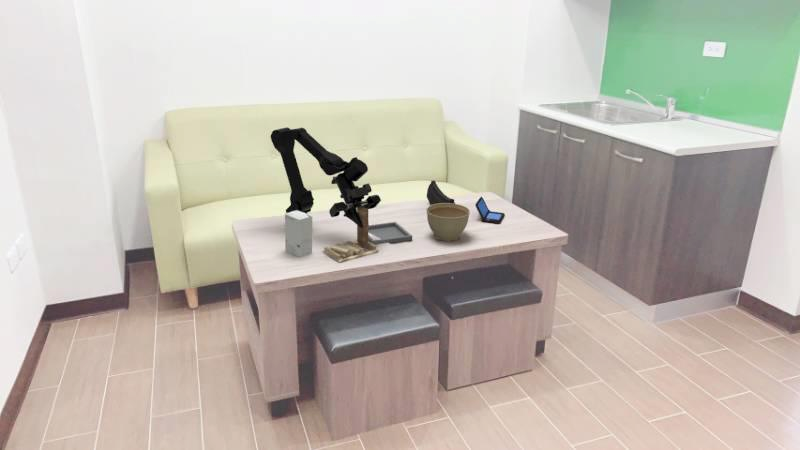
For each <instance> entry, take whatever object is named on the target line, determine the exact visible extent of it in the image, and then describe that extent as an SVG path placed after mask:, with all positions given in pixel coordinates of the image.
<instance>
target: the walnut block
mask: <svg viewBox="0 0 800 450" xmlns="http://www.w3.org/2000/svg"><path fill="white" fill-rule="evenodd" d="M357 213H358V216H359V218H360V220H361V222H362V225H363V227H362V228H360V227H359V226H358V225H357V224H356V226H357V227H356V232H357V233H356V235H357V237H356V242H359V243H360V244H362V245H367V244H368V235H369V232H368V223H369V209H367V208H365V207H363V206H361V207H357ZM360 244H359V245H360ZM362 245H361V246H362Z"/></svg>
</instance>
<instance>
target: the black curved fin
mask: <svg viewBox="0 0 800 450" xmlns="http://www.w3.org/2000/svg"><path fill="white" fill-rule="evenodd" d="M436 182H437V181H436V180H431V181H430V184H429V185H428V188H427V192H426V199H427V201H428V202H429V204H430V206H431V205H434V204H439V203H452V204H456V202H455V199H454V198H450V197H449V196H447V195H446V194H445V193H444V192H443V191H442V190H441V189H440V187H439V186H438V184H437V183H436Z"/></svg>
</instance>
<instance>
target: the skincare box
mask: <svg viewBox="0 0 800 450" xmlns="http://www.w3.org/2000/svg"><path fill="white" fill-rule="evenodd" d="M284 220H285V221H284V222H285V223H284V224H285V225H284V226H285V227H284V228H285V229H284V234H285V235H284V238H285V239H284V241H285V242H284V243H285V244H284V245H285V249H284V250H285V252H286V253H288V254H291V255H293V256H295V257H297V258H302V257H305V256H308V255H311V254H312V253H313V216H312V215H311V214H309V213H307V214H306V213H304V212H300V211H298V210H296V211H293V212H289V213H286V212H285V213H284Z"/></svg>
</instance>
